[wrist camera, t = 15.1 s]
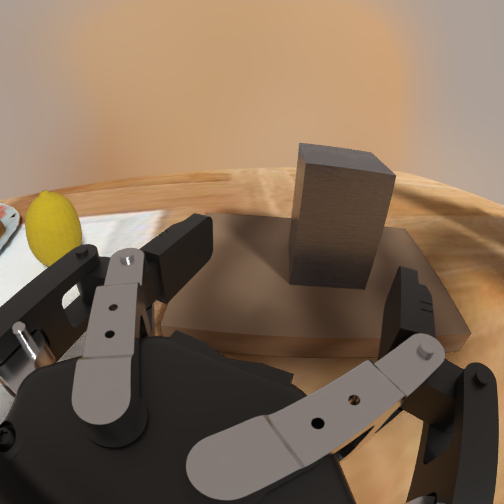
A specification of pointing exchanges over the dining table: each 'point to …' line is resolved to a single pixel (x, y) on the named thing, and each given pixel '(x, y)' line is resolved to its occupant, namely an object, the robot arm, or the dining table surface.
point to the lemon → (52, 227)
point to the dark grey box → (337, 216)
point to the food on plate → (7, 222)
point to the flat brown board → (296, 297)
